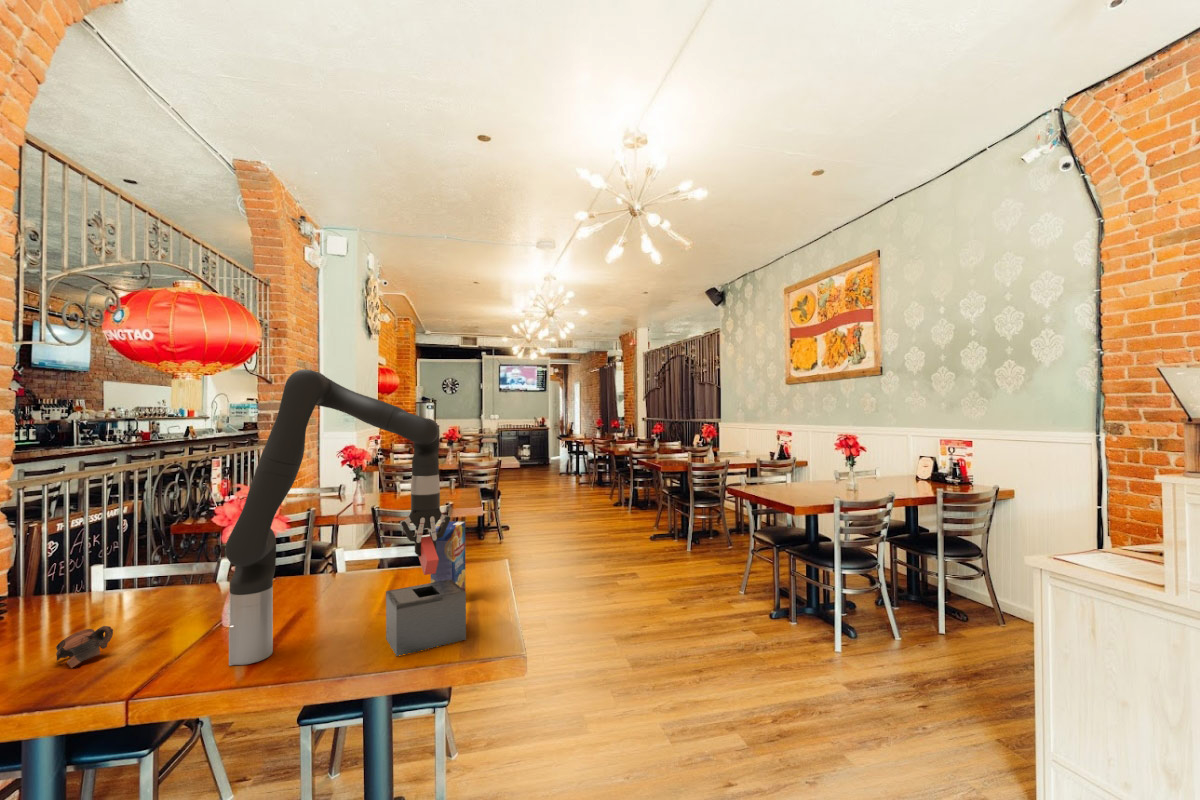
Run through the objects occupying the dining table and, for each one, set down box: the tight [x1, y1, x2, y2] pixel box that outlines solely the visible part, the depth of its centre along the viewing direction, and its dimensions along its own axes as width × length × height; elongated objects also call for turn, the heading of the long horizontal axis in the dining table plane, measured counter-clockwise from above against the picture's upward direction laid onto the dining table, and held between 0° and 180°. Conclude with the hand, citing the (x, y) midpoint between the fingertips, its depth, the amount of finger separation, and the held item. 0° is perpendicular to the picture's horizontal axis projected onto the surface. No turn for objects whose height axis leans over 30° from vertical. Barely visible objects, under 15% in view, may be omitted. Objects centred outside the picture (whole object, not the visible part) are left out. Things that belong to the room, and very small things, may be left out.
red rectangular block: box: [417, 535, 439, 576], centre depth 144 cm, size 3×5×9 cm
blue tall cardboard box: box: [430, 520, 467, 593], centre depth 179 cm, size 12×8×24 cm, turn 175°
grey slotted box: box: [385, 580, 467, 657], centre depth 146 cm, size 18×13×13 cm
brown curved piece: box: [55, 625, 114, 669], centre depth 136 cm, size 12×9×8 cm
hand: (425, 554), depth 146 cm, fingers closed on red rectangular block, 2 cm apart
